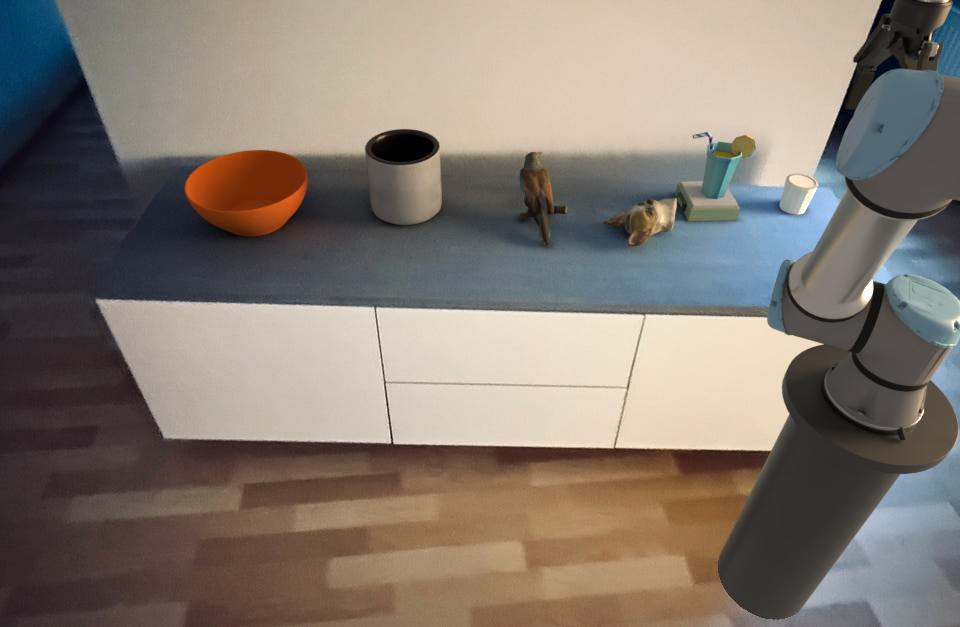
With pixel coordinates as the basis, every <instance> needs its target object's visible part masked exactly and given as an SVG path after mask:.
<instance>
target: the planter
mask: <svg viewBox="0 0 960 627" xmlns="http://www.w3.org/2000/svg"><path fill="white" fill-rule="evenodd" d="M364 154H365V162H366V172H367V182H368V193H369V202H370V208H371V211H372V212H373V214H374V215H375V216H376V217H377V218H378V219H380V220H382V221H384V222H386V223H389V224H392V225H397V226H410V225H411V226H413V225H416V224H417V225H418V224H420V223H421V224H422V223H424V222H427V221H428V220H431V219H432V218H434V217H435V216H436V215H437V214H438V213H439V212H440V211H441V209H442V206H443V187H442V185H443V184H442V167H441V145H440V142H439V140H438V139H437V138H436V137H435V136H434V135H433V134H431V133H428V132H426V131H423V130H419V129H411V128H397V129H391V130H386V131H383V132H379V133H378V134H376V135H374V136H372V137H371V138H370V139H368V141H367V142H366V144H365V146H364Z"/></svg>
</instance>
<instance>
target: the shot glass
mask: <svg viewBox="0 0 960 627" xmlns="http://www.w3.org/2000/svg"><path fill="white" fill-rule="evenodd" d="M818 187H819V182H818V180H816V179H815V178H814V177H812V176H810V175H808V174H803V173H791V174H788V175H787V176H786V178H785V181H784V186H783V190H782V193H781V197H780V202H779V208H780V209H781V210H782V211H783V212H785V213H786V214H790V215H802V214H805V212H806V210H807V208H808V206H809V204H810V203H811V201H812V199H813V197H814V195H815V193H816V192H817V189H818Z"/></svg>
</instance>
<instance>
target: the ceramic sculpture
mask: <svg viewBox="0 0 960 627" xmlns="http://www.w3.org/2000/svg"><path fill="white" fill-rule="evenodd" d="M677 204H678V202H677V197H673V198H663V199H660V200H658V201H657V200H655V199H652V198H649V199H646V200H645V201H644V202H638V203H636V204H634V205H631V206H630V207H629V208H628V209H627V210H623V211H621V212H618V213H616V214H615V215H614V216H612V217H611V218H609V219H607V220H603V221H602V224H603V225H604V226H608V227H611V228H613V229H614V228H615V229H620V228H625V230H626V232H627V233H628V234H629V236H628V238H627V242H626V244H625V246H626V247H639V246H642V245H644V244H645V243H646V242H648V240H649V239H650V238H651V237H652V236H653V235H655V234H657V233H659V232H663V233H669V232H670V231H672V229H673V228H674V226H675V218H676V212H677Z"/></svg>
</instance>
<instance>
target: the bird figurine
mask: <svg viewBox="0 0 960 627" xmlns="http://www.w3.org/2000/svg"><path fill="white" fill-rule="evenodd" d="M542 154H543V152H541V151H538V152H537V151H530V152H529V153H527V154H526V155H525V157H524V162H523V167H522V168H521V169H520V171H519V187H520V190H521V195H522V197H523V202H524V205H525V207H526V208H527V210H526V211H525V212H520V213H519V219H520V220H527V219H531V218H533V220H534V221H535V223H536V224H537V226H538V229H539V236H540V238H541V240H542V243H543V245H544V246H545V247H548V248H549V247H550V246H551V228H550V218H551V216H550V215H556V214H557V215H558V214H559V215H567V210H568V206H567V205H554V197H553V189H552V184H551V180H550V175H549V172H548V170H547V169H546V167H545V166H542V164H541V163H540V160H541V159H540V158H541V157H540V156H541V155H542Z"/></svg>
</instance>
